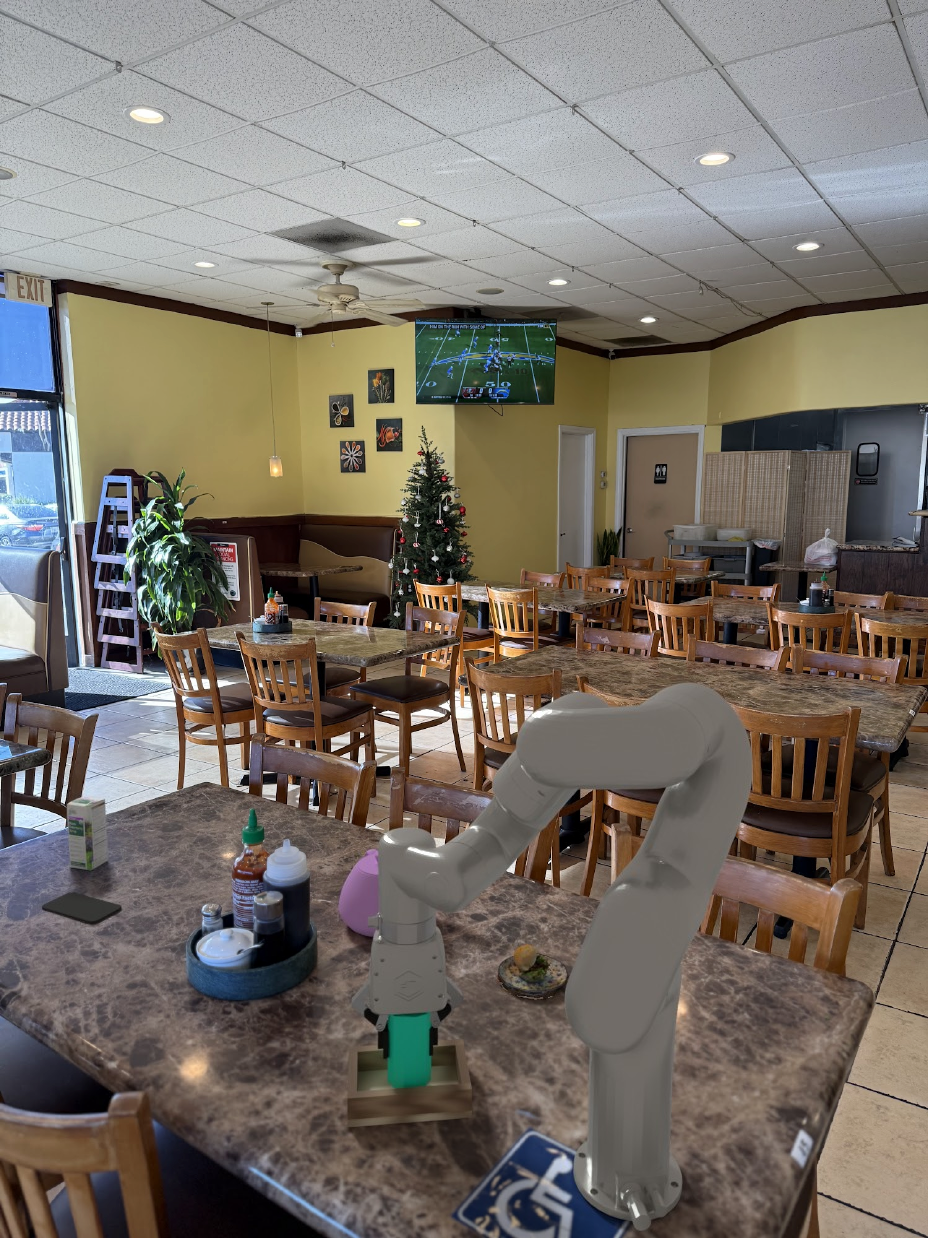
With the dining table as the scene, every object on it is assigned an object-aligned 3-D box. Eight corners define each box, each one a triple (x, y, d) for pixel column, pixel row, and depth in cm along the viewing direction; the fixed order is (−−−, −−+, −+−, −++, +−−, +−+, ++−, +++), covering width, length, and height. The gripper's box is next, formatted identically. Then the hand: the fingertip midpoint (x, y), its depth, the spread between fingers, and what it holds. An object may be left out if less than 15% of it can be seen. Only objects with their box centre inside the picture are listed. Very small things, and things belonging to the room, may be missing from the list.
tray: (462, 1062, 122) (462, 1038, 121) (472, 1117, 111) (472, 1091, 110) (349, 1070, 120) (348, 1045, 119) (347, 1127, 109) (347, 1100, 108)
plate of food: (564, 1005, 136) (565, 961, 135) (491, 996, 138) (492, 953, 137) (570, 965, 148) (571, 925, 146) (503, 958, 150) (503, 918, 149)
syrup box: (68, 868, 185) (64, 804, 183) (88, 857, 191) (84, 795, 189) (90, 871, 183) (86, 806, 181) (109, 860, 189) (106, 797, 187)
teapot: (470, 936, 157) (470, 865, 155) (355, 959, 149) (353, 884, 147) (430, 886, 177) (430, 822, 175) (327, 904, 169) (325, 837, 167)
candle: (408, 1056, 119) (409, 976, 117) (440, 1075, 115) (442, 992, 114) (377, 1077, 114) (378, 994, 113) (409, 1098, 111) (410, 1012, 109)
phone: (71, 891, 174) (124, 905, 167) (71, 895, 174) (124, 910, 167) (38, 906, 167) (93, 922, 160) (39, 910, 167) (93, 926, 160)
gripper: (340, 942, 107) (342, 1074, 110) (475, 935, 109) (474, 1065, 112) (342, 913, 115) (344, 1037, 117) (468, 907, 117) (467, 1030, 119)
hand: (407, 1049), depth 114 cm, fingers closed on candle, 5 cm apart
